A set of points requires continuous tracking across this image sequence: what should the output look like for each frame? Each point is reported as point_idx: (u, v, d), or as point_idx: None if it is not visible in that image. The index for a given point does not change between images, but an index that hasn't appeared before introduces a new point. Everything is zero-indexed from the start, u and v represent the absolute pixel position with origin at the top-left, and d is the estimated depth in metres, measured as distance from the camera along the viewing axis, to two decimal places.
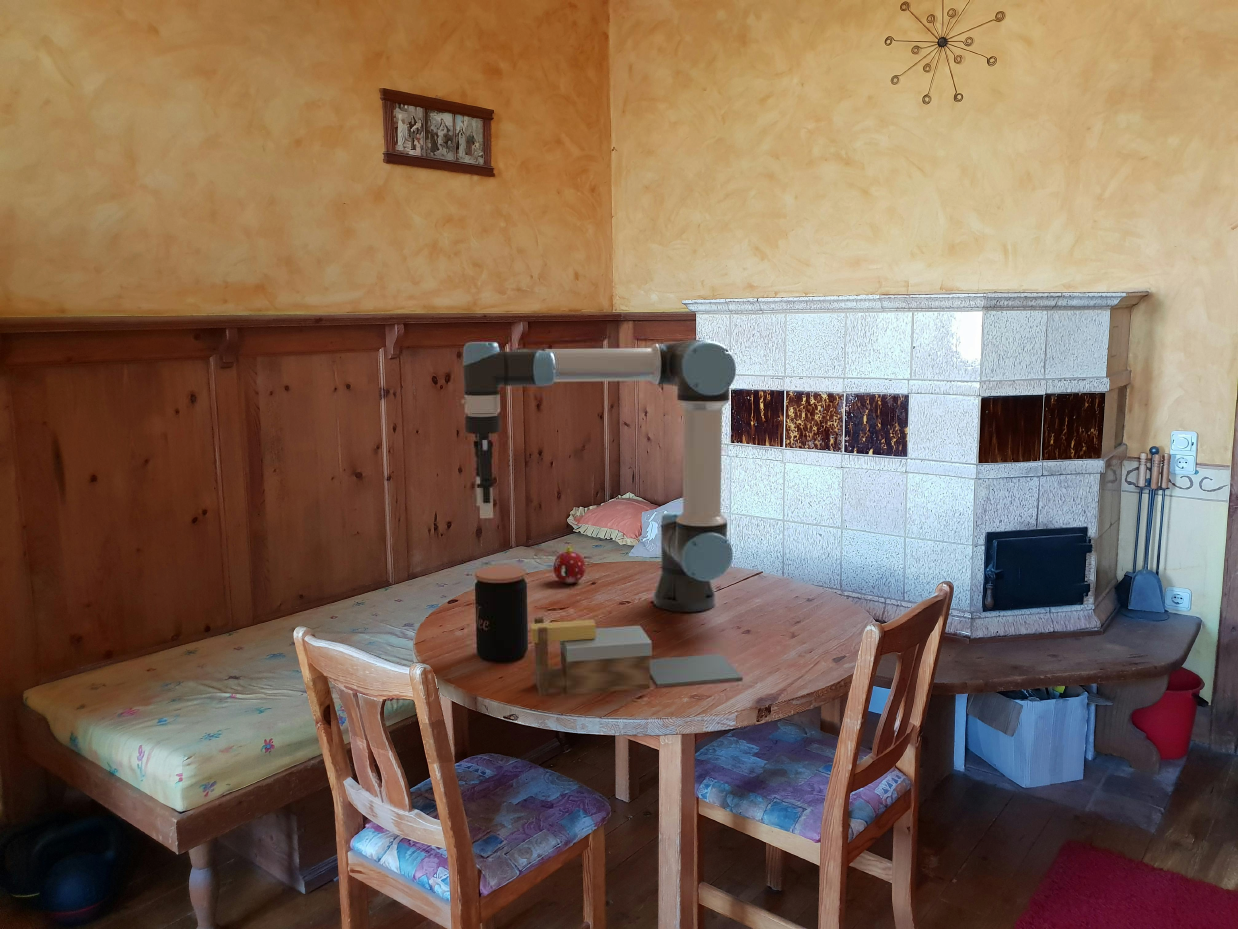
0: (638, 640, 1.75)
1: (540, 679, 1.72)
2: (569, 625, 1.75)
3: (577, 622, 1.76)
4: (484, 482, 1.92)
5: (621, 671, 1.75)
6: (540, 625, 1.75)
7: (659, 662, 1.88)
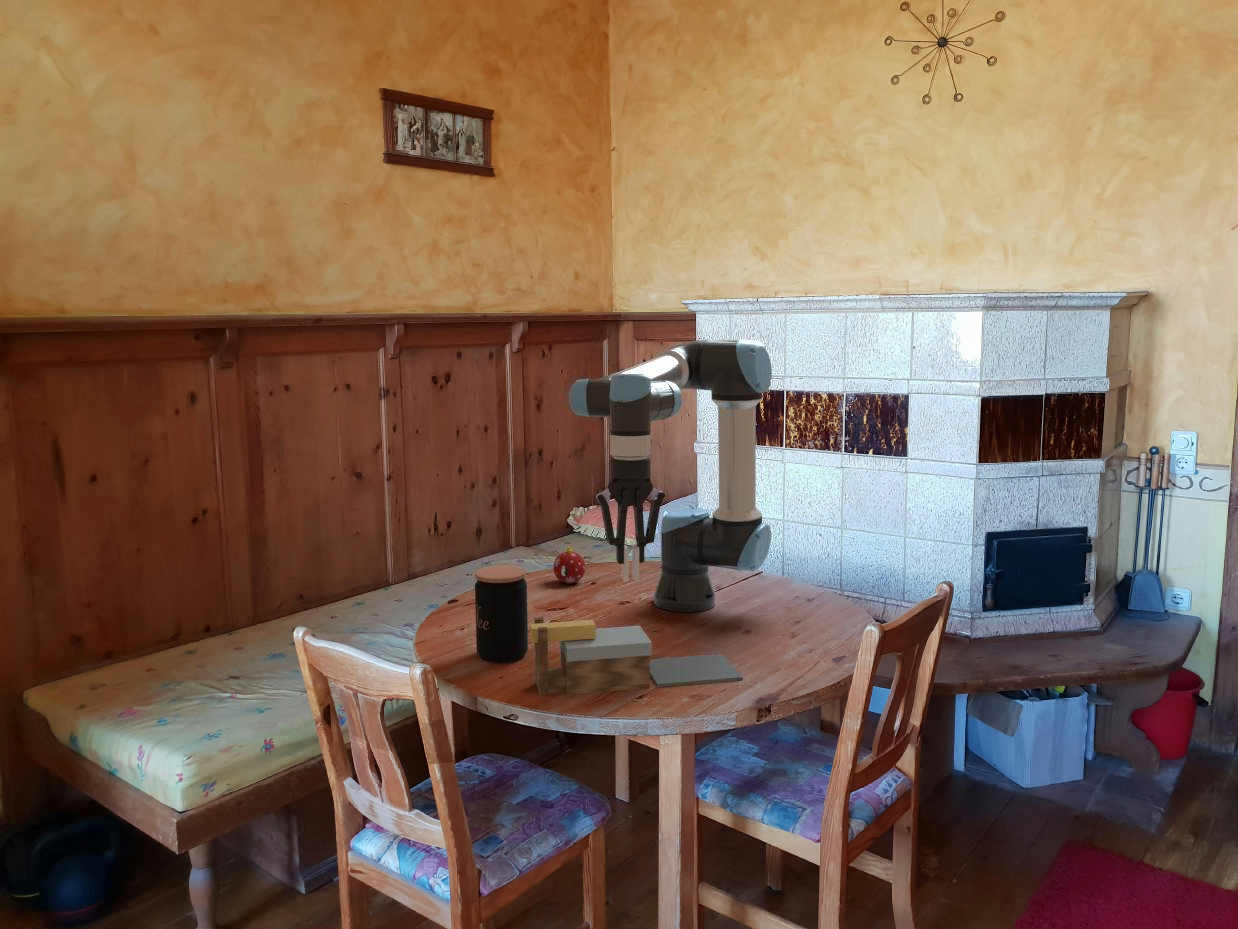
0: (638, 640, 1.75)
1: (540, 679, 1.72)
2: (569, 625, 1.75)
3: (577, 622, 1.76)
4: (607, 538, 1.75)
5: (621, 671, 1.75)
6: (540, 625, 1.75)
7: (659, 662, 1.88)
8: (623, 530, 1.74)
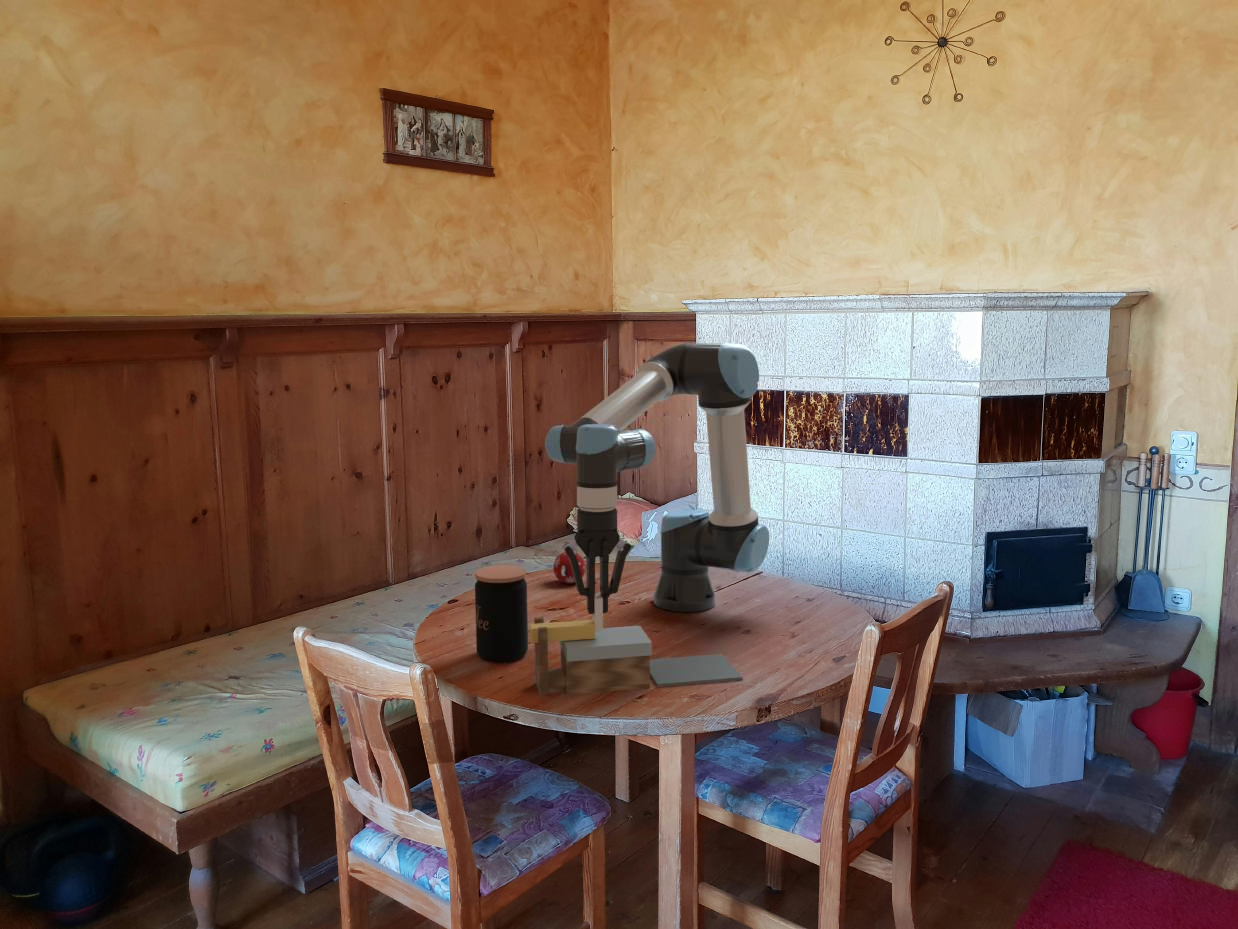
0: (638, 640, 1.75)
1: (540, 679, 1.72)
2: (568, 625, 1.75)
3: (577, 622, 1.76)
4: (578, 588, 1.75)
5: (621, 671, 1.75)
6: (539, 625, 1.75)
7: (659, 662, 1.88)
8: (592, 581, 1.74)
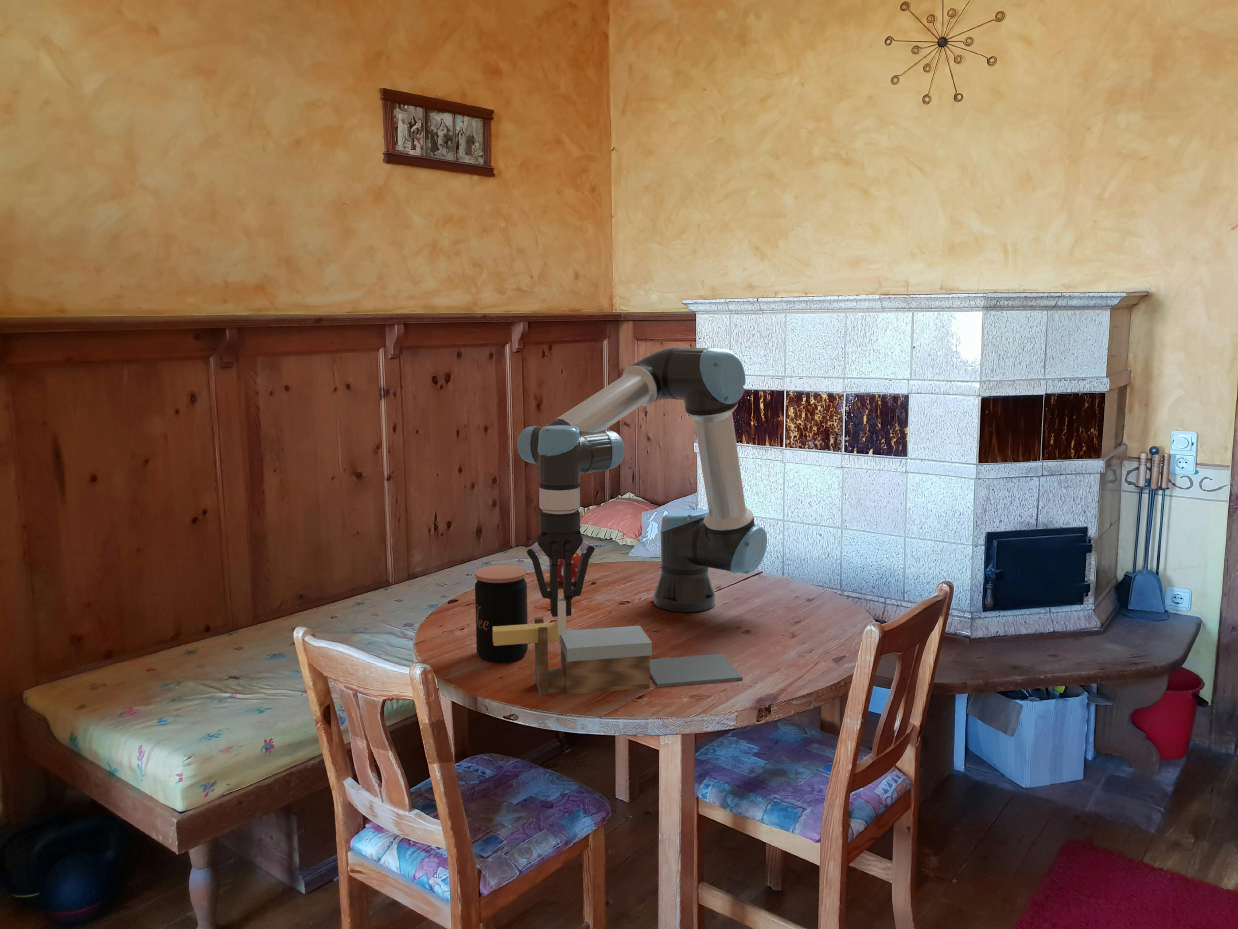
0: (638, 640, 1.75)
1: (540, 679, 1.72)
2: (531, 628, 1.73)
3: (540, 625, 1.75)
4: (541, 591, 1.74)
5: (621, 671, 1.75)
6: (502, 628, 1.73)
7: (659, 662, 1.88)
8: (555, 584, 1.73)
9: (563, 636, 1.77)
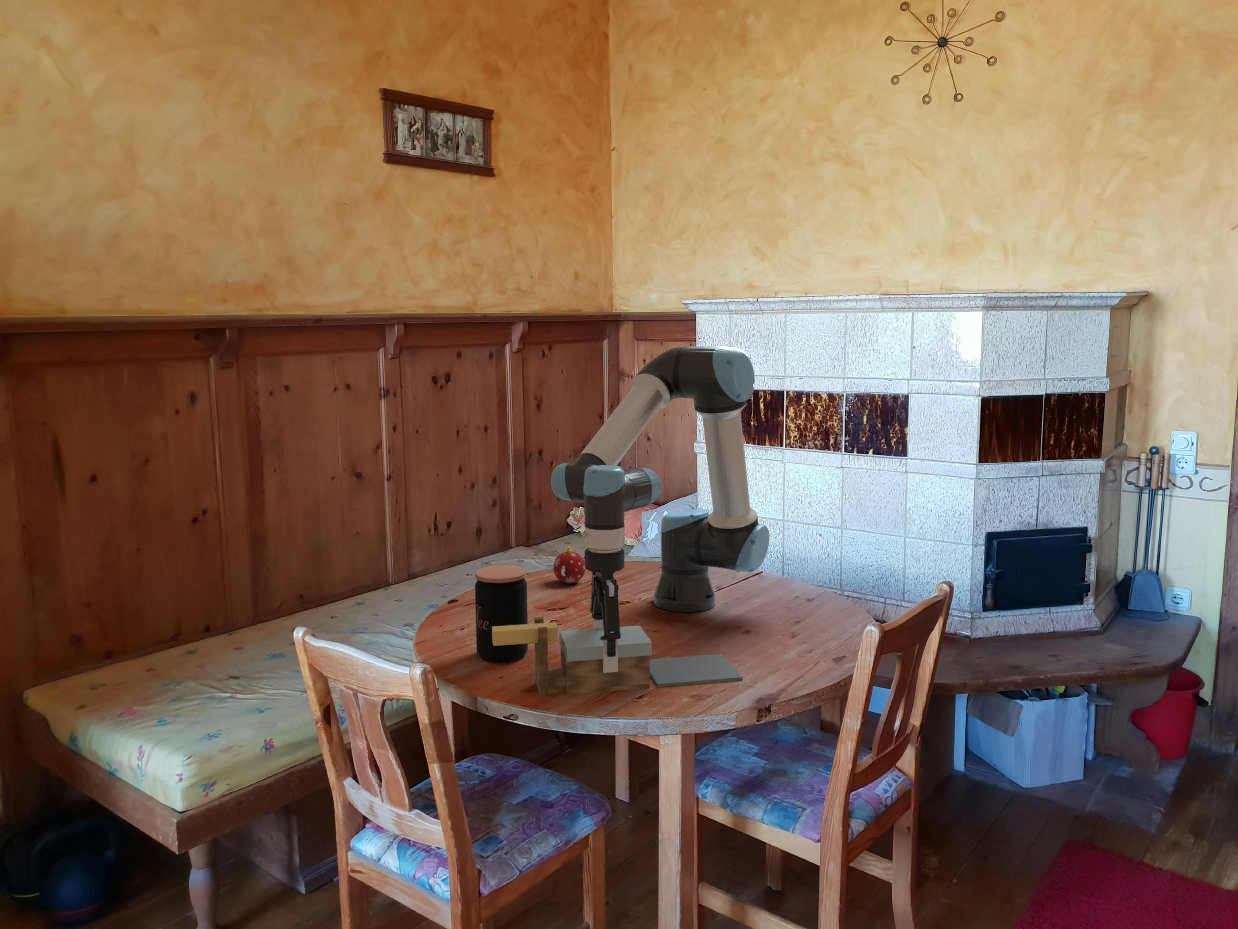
0: (638, 640, 1.75)
1: (540, 679, 1.72)
2: (531, 628, 1.73)
3: (540, 625, 1.75)
4: (611, 635, 1.68)
5: (621, 671, 1.75)
6: (502, 628, 1.73)
7: (659, 662, 1.88)
8: None
9: (563, 636, 1.77)
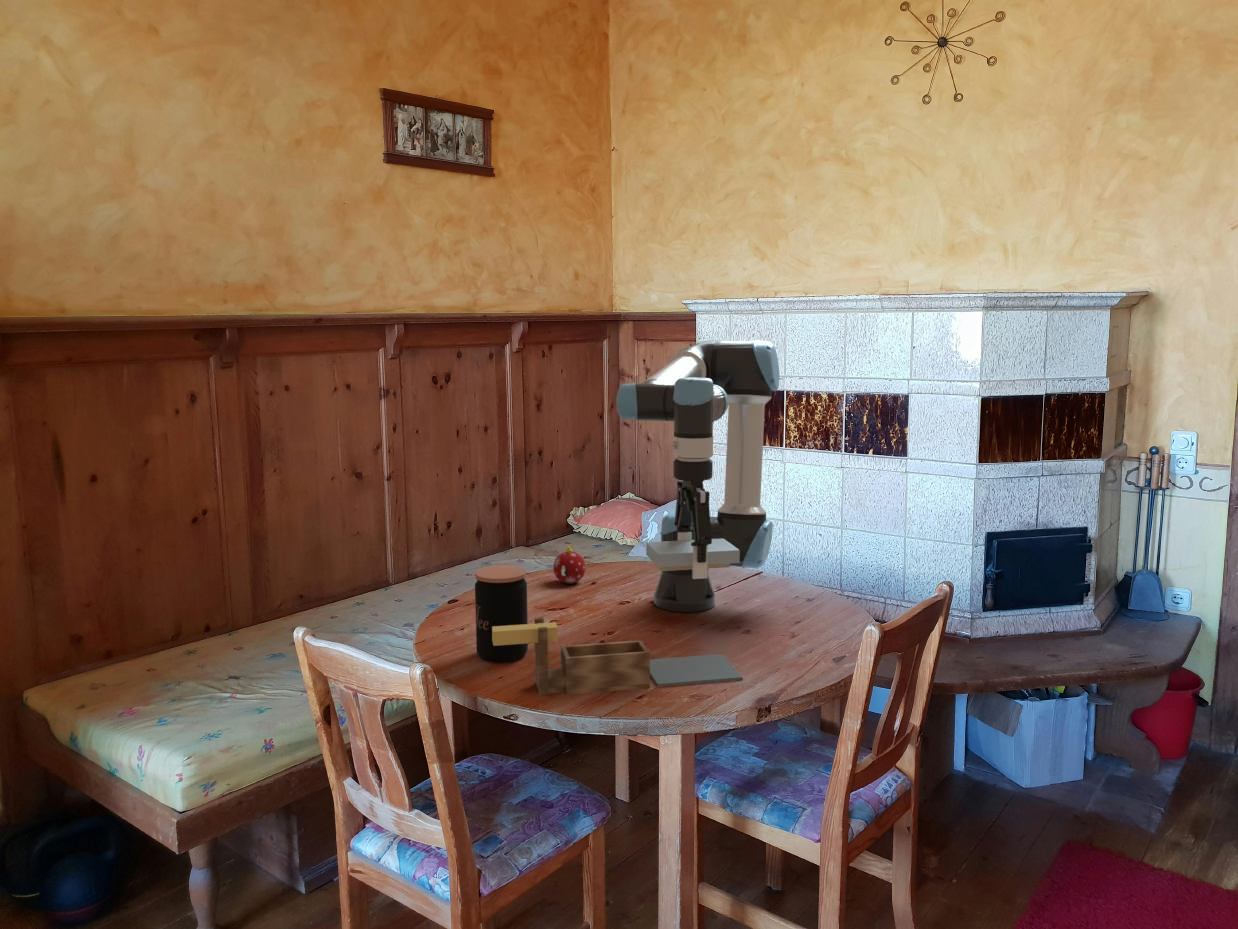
0: (726, 549, 1.79)
1: (540, 679, 1.72)
2: (531, 628, 1.73)
3: (540, 625, 1.75)
4: (703, 540, 1.72)
5: (621, 671, 1.75)
6: (502, 628, 1.73)
7: (659, 662, 1.88)
8: None
9: (651, 546, 1.82)
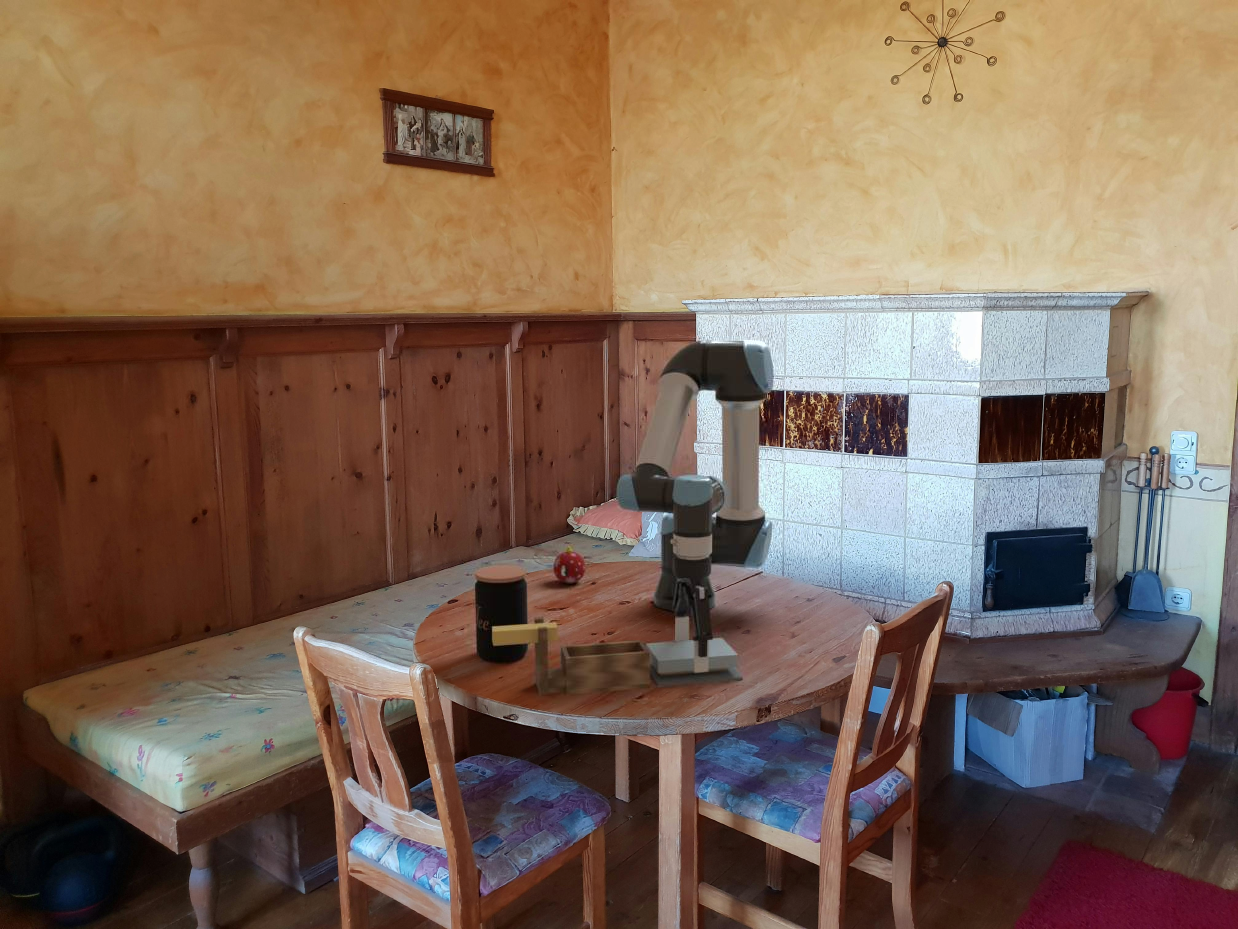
0: (725, 653, 1.82)
1: (540, 679, 1.72)
2: (531, 628, 1.73)
3: (540, 625, 1.75)
4: (704, 636, 1.74)
5: (621, 671, 1.75)
6: (502, 628, 1.73)
7: None
8: None
9: (651, 648, 1.85)
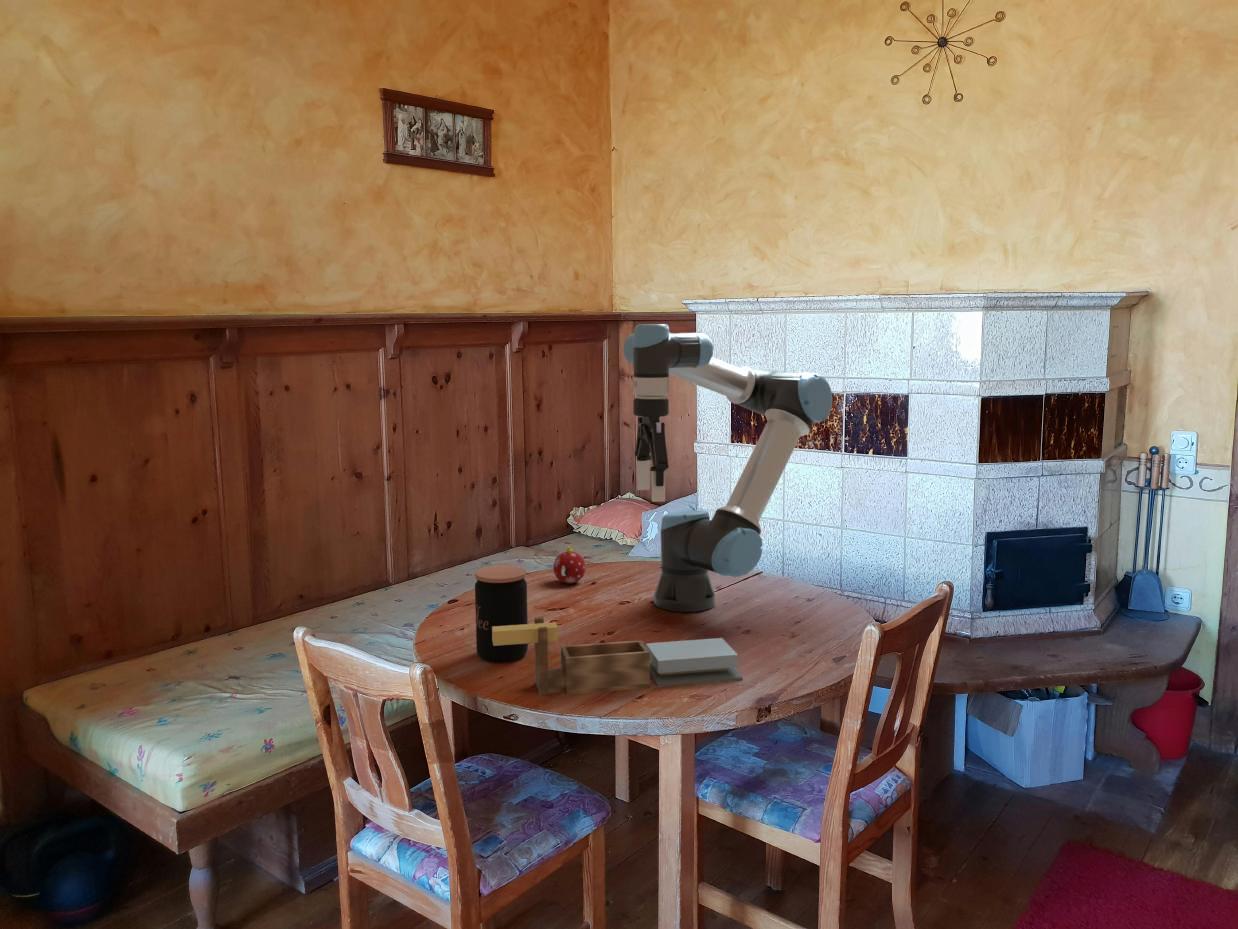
0: (725, 653, 1.82)
1: (540, 679, 1.72)
2: (531, 628, 1.73)
3: (540, 625, 1.75)
4: (660, 465, 1.90)
5: (621, 671, 1.75)
6: (502, 628, 1.73)
7: None
8: None
9: (651, 648, 1.85)
